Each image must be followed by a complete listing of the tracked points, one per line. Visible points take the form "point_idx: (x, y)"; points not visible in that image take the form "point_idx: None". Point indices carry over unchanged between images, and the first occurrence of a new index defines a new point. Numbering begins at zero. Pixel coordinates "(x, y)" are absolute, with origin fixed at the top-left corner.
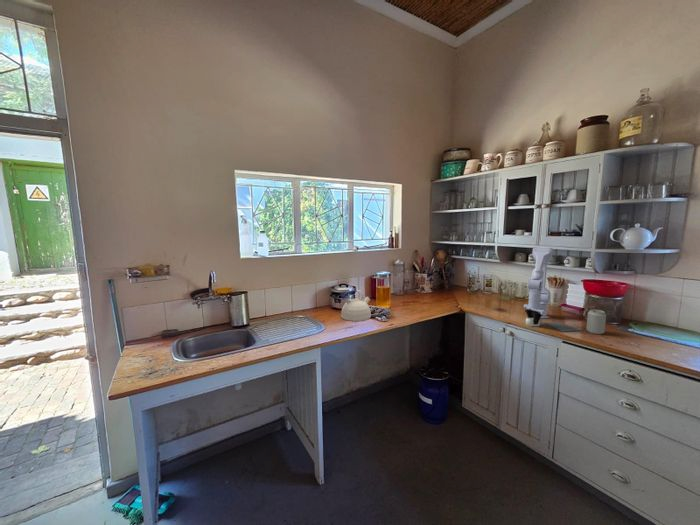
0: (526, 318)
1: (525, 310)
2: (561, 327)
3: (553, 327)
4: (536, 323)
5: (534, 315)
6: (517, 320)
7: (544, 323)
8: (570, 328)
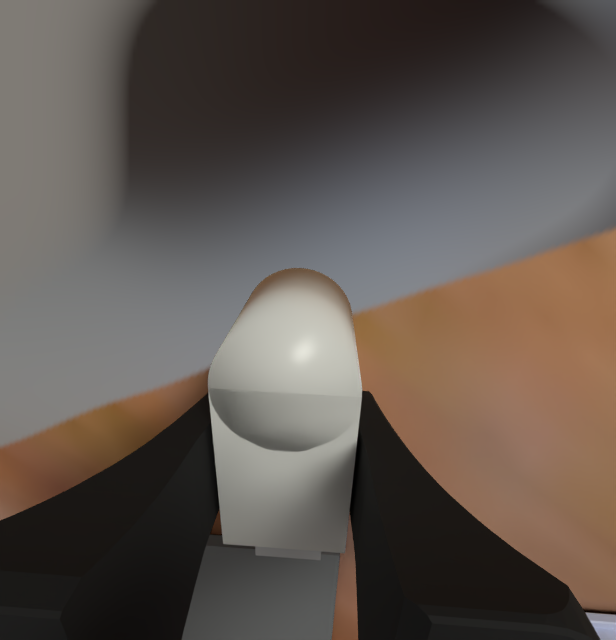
0: (324, 350)
1: (530, 609)
2: None
3: None
4: None
5: (29, 517)
6: (602, 323)
7: None
8: None
